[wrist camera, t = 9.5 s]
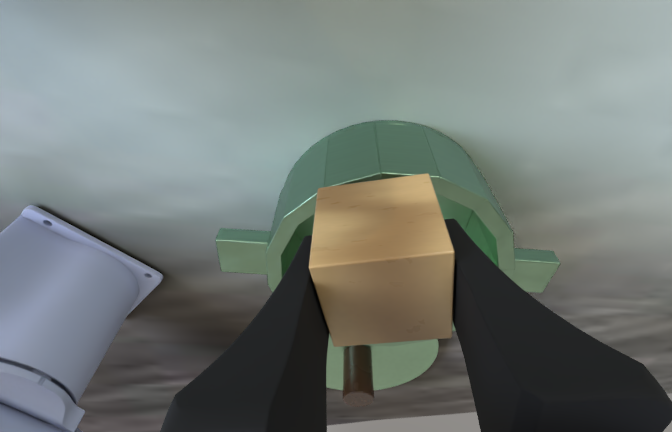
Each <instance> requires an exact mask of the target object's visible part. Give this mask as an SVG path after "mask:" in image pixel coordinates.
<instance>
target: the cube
mask: <svg viewBox="0 0 672 432" xmlns="http://www.w3.org/2000/svg"><path fill="white" fill-rule="evenodd" d="M454 262H455V251H454V248H453V245H452V242H451V239H450V236H449V233H448V230H447V227H446V224H445V221H444V218H443V215H442V211H441V208H440V205H439V202H438V199H437V196H436V193H435V190H434V187H433V184H432V181H431V178H430V175H429V174H428V173H426V174H418V175H411V176H404V177H396V178H389V179H381V180H374V181H367V182H359V183H352V184H344V185H337V186H330V187H322V188H318V190H317V198H316V207H315V216H314V224H313V233H312V242H311V251H310V259H309V270H310V274H311V277H312V280H313V283H314V286H315V289H316V292H317V296H318V299H319V302H320V305H321V308H322V311H323V314H324V318H325V321H326V324H327V327H328V330H329V333H330V336H331V340H332V343H333V346H334V347H342V346H355V345H367V344H380V343H393V342H406V341H418V340H431V339H444V338H452V331H453V297H454Z"/></svg>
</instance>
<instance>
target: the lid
mask: <svg viewBox="0 0 672 432" xmlns="http://www.w3.org/2000/svg"><path fill="white" fill-rule="evenodd" d="M438 347H439V344H438V339H434V340H430V341H424V342H418V343H412V344H405V345H399V346H393V347H392V346H391V347H389V346H373V345H355V346H342V347H334V346H333V343H332V340H331V338H330V337H329V341H328V351H327V364H326V387H327V388H331V389H337V390H343V401H344V402H345V403H346V404H348V405H351V406H356V407H362V406H367V405H370V404H371V403H372V402H373V401H374V390H380V389H386V388H390V387H394V386H397V385H400V384H403V383H406V382H408V381H410V380H412V379H414V378H416V377H418V376H419V375H421V374H422V373H424V372H425V371H426V370H427V369H428V368H429V367H430V366H431V365H432V363H433V362H434V360H435V358H436V356H437V353H438Z"/></svg>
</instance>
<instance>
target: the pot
mask: <svg viewBox="0 0 672 432" xmlns="http://www.w3.org/2000/svg"><path fill="white" fill-rule="evenodd" d="M426 173H428V174H429V175H430V178H431V181H432V184H433V187H434V190H435V193H436V196H437V199H438V202H439V205H440V208H441V211H442V215H443V218H444V219H453V218H454V219H455V220H457V222H458V223H459V224H460V226H461V227H462V228H463V229H464V231H465V232H466V233H467V234H468V236H469V237H470V238H471V239H472V240H473V241H474V243H475V244H476V245H477V246H478V247H479V248H480V249H481V250H482V251H483V252H484V253H485V254H486V255H487V257H488V258H489V259H490V260H491V261H492V262H493V263H494V264H495V265H496V266H497V267H498V268H499V269H500V270H502V271H503V272H504V273H505V274H506V275H507V276H508V277H509V278H510V279H511V280H512V281H514V282H515V283H516V284H517V285H518V286H519V287H521V288H522V289H523V290H524V291H526V292H537V293H542V292H543V291H544V289H545V287H546V286H547V284H548V283H549V281H550V280H551V278H552V276H553V275H554V273H555V272H556V270H557V269H558V267H559V265H560V261H559V260H558V258H557V257H556V255H555V253H554V252H553V251H548V250H534V249H519V248H514V235H513V231H512V229H511V227H510V226H509V224H508V222H507V220H506V218H505V216H504V214H503V213H502V211H501V209H500V207H499V205H498V203H497V201H496V200H495V198H494V196H493V194H492V192H491V190H490V188H489V187H488V185H487V183H486V181H485V179H484V177H483V176H482V174H481V173H480V171H479V170H478V169H477V167H476V166H475V165H474V163H473V161H472V160H471V158H470V157H469V156H468V154H467V153H466V152H465V151H464V150H463V148H462V147H461V146H460V145H458V144H457V143H455V142H454V141H453V140H452V139H450V138H448V137H447V136H445V135H443V134H442V133H440V132H438V131H435V130H433V129H431V128H428V127H426V126H422V125H418V124H415V123H410V122H402V121H373V122H365V123H361V124H357V125H352V126H349V127H347V128H344V129H341V130H339V131H336V132H334V133H332V134H330V135H328V136H327V137H325V138H323V139H322V140H320V141H319V142H317V143H316V144H314V145H313V146H312V147H311V148H310V149H309V150H307V151H306V152H305V153H304V154H303V155H302V156H301V158H300V159H299V160H298V161H297V162H296V163H295V165H294V167H293V168H292V170H291V172H290V173H289V175H288V178H287V180H286V183H285V185H284V187H283V189H282V191H281V193H280V197H279V200H278V204H277V208H276V212H275V216H274V220H273V224H272V228H271V232H270V231H256V230H241V229H227V228H221V229H220V230H219V233H218V235H217V237H216V240H215V241H216V246H217V252H218V257H219V263H220V268H221V271H222V272H235V273H250V274H265V275H267V281H268V285H269V287H270V289H271V290H272V292H274V290H275V289H276V287H277V286H278V284H279V283H280V281H281V279H282V278H283V276H284V274H285V272H286V271H287V269H288V267H289V265H290V264H291V262H292V260H293V258H294V256H295V254H296V252H297V250H298V248H299V246H300V244H301V242H302V240H303V238H304V237H305V236H309V235H312V233H313V224H314V216H315V207H316V198H317V190H318V188H322V187H330V186H337V185H344V184H352V183H359V182H367V181H374V180H381V179H389V178H396V177H404V176H411V175H418V174H426ZM455 330H456V329H455V326H454V324H453V331H455ZM453 331H452V332H453ZM329 337H330V338H331V336H330V333H329ZM431 340H434V339H431ZM424 341H430V340H418V341H406V342H393V343H380V344H367V345H373V346H389V347H391V346H392V347H393V346H399V345H405V344H412V343H418V342H424Z"/></svg>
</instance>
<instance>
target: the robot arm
mask: <svg viewBox="0 0 672 432" xmlns="http://www.w3.org/2000/svg"><path fill="white" fill-rule="evenodd" d="M444 221H445V224H446V227H447V230H448V233H449V236H450V239H451V242H452V245H453V248H454V251H455V262H454V297H453V324H454V326H455V329H456V332H457V335H458V338H459V341H460V344H461V348H462V351H463V354H464V358H465V362H466V367H467V371H468V375H469V379H470V384H471V388H472V393H473V397H474V402H475V406H476V411H477V415H478V420H479V425H480V429H481V432H663V431H664V429H665V428H666V427H667V426H668V425H669V424H670V422H671V421H672V401H671V400H670V398H669V397H668V396H667V394H666V393H665V391H664V390H663V388H662V387H661V386H660V384H659V383H658V382H657V380H656V379H655V378H654V377H653V376H652V374H651V373H650V372H649V371H648V370H647V369H646V367H645V366H644V365H643V364H642V363H640V362H638V361H636V360H634V359H632V358H630V357H628V356H626V355H624V354H623V353H621V352H619V351H617V350H615V349H613V348H611V347H609V346H607V345H605V344H603V343H602V342H600V341H598V340H596V339H595V338H593V337H591V336H590V335H588V334H586V333H585V332H583V331H581V330H579V329H578V328H576V327H575V326H573V325H572V324H570V323H569V322H567V321H566V320H564V319H563V318H561V317H560V316H558V315H557V314H555V313H554V312H552V311H551V310H549V309H548V308H546V307H545V306H544V305H542V304H541V303H540V302H538V301H537V300H536V299H534V298H533V297H532V296H531V295H529V294H528V293H527V292H526V291H524V290H523V289H522V288H521V287H519V286H518V285H517V284H516V283H515V282H514V281H512V280H511V279H510V278H509V277H508V276H507V275H506V274H505V273H504V272H503V271H502V270H500V269H499V268H498V267H497V266H496V265H495V264H494V263H493V262H492V261H491V260H490V259H489V258H488V257H487V255H486V254H485V253H484V252H483V251H482V250H481V249H480V248H479V247H478V246H477V245H476V244H475V243H474V241H473V240H472V239H471V238H470V237H469V236H468V234H467V233H466V232H465V231H464V229H463V228H462V227H461V226H460V224H459V223H458V222H457V220H455V219H454V218H453V219H444ZM311 242H312V235H309V236H305V237H304V238H303V240H302V242H301V244H300V246H299V248H298V250H297V252H296V254H295V256H294V258H293V260H292V262H291V264H290V265H289V267H288V269H287V271H286V272H285V274H284V276H283V278H282V279H281V281H280V283H279V284H278V286H277V287H276V289H275V290H274V292H273V293H272V295H271V296H270V298H269V299H268V301H267V302H266V304H265V305H264V306H263V308H262V309H261V310H260V312H259V313H258V314H257V316H256V317H255V318H254V319H253V321H252V322H251V323H250V324H249V325H248V327H247V328H246V329H245V330H244V331H243V332H242V334H241V335H240V336H239V337H238V338H237V339H236V340H235V341H234V342H233V343H232V345H231V346H230V347H229V348H228V349H227V350H226V351H225V352H224V353H223V354H222V355H220V356H219V357H218V358H217V359H216V360H215V361H214V362H213V363H212V364H211V365H210V366H209V367H208V368H207V369H206V370H205V371H204V372H202V373H201V374H200V375H199V376H198V377H196V378H195V379H194V380H193V381H192V382H190V383H189V384H188V385H187V386H186V387H184V388H183V389H182V390H181V391H180V392H178V393H177V394H176V395H175V397H174V399H173V401H172V403H171V405H170V407H169V409H168V412H167V415H166V417H165V420H164V423H163V425H162V428H161V431H160V432H327V424H326V364H327V351H328V341H329V330H328V327H327V324H326V321H325V318H324V314H323V311H322V308H321V305H320V302H319V299H318V296H317V292H316V289H315V286H314V283H313V280H312V277H311V274H310V270H309V259H310V251H311ZM162 279H163V275H162V274H161V273H160V272H158V271H156V270H154V269H152V268H151V267H149V266H147V265H145V264H143V263H141V262H139V261H138V260H136V259H134V258H132V257H130V256H128V255H126V254H124V253H123V252H121V251H119V250H117V249H115V248H113V247H111V246H110V245H108V244H106V243H104V242H102V241H100V240H98V239H96V238H95V237H93V236H91V235H89V234H87V233H85V232H83V231H82V230H80V229H78V228H76V227H74V226H72V225H70V224H68V223H67V222H65V221H63V220H61V219H59V218H57V217H55V216H54V215H52V214H50V213H48V212H46V211H44V210H42V209H40V208H39V207H36V206H33V205H29V206H27V207H26V208H25V209H24V210H23V211H22V213H21V215H20V216H19V217H18V218H17V219H16V220H15V221H13V222H12V223H11V224H10V225H9V226H8V227H7V228H6V229H4V230H3V231H2V232H1V233H0V432H82V431H81V430H79V429H78V428H77V426H78V425H79V423H80V421H81V419H82V417H83V415H84V414H85V410H83V409H81V408H80V407H78V406H77V403H78V401H79V399H80V398H81V396H82V394H83V392H84V391H85V389H86V387H87V385H88V384H89V382H90V380H91V378H92V377H93V375H94V373H95V371H96V370H97V368H98V366H99V364H100V362H101V361H102V359H103V357H104V355H105V354H106V352H107V350H108V348H109V347H110V345H111V343H112V341H113V340H114V338H115V336H116V334H117V333H118V331H119V329H120V327H121V326H122V324H123V322H124V320H125V318H126V317H127V315H128V314H129V313H130V312H131V311H132V310H133V309H134V308H135V307H136V306H137V305H138V304H139V303H140V302H141V301H142V300H143V299H144V298H145V297H146V296H147V295H148V294H149V293H150V292H151V291H152V290H153V289H154V288H155V287H156V286H157V285H158V284H159V283H160V282H161V281H162Z"/></svg>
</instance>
